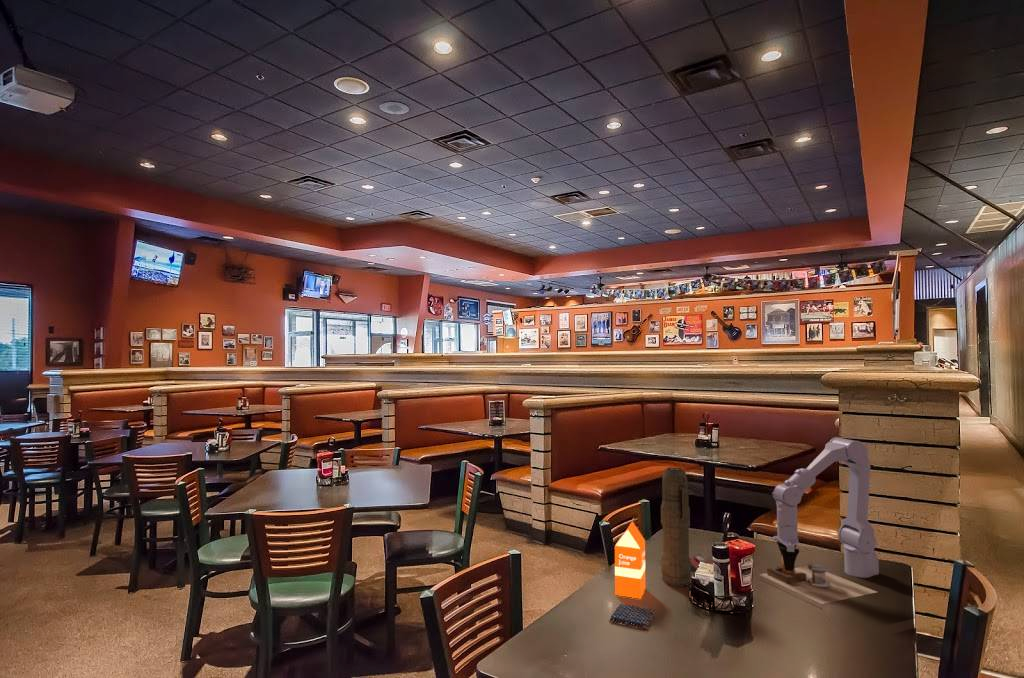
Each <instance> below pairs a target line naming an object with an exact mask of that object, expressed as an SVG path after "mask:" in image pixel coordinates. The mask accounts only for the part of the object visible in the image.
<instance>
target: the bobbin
mask: <svg viewBox="0 0 1024 678" xmlns="http://www.w3.org/2000/svg"><path fill="white" fill-rule="evenodd" d="M806 566H807V567H808V568H809V569H810V570H812V578H809V579H808V584H809V585H811V586H814V587H818V588H829V587H830V582H829V581H827V580H826V579H825V572H829V573H830V571H831V567H830V566H829V565H828V564H825V563H822V562H815V561H814V562H813V561H812V562H808V563H807V564H806Z"/></svg>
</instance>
